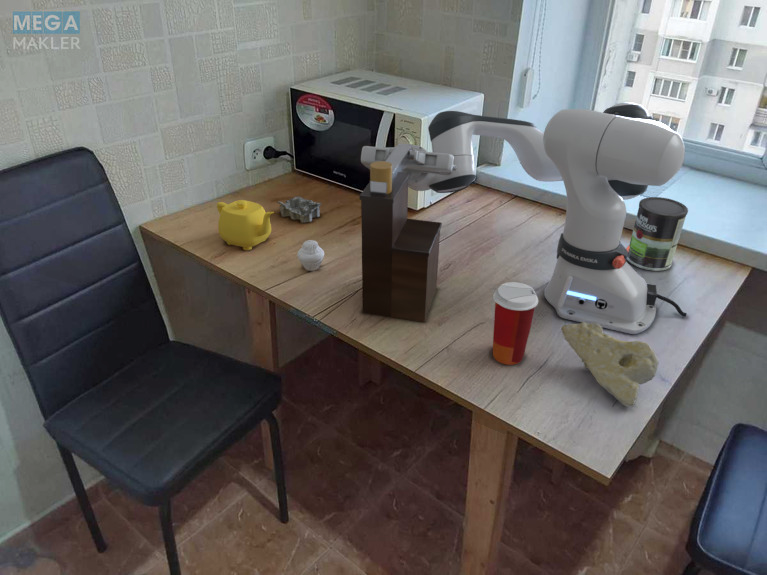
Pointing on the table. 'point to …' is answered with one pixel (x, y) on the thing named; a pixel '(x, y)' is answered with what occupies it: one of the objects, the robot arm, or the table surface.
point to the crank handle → (388, 170)
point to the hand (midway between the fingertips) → (401, 153)
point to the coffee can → (656, 233)
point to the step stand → (397, 255)
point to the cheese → (613, 360)
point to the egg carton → (300, 209)
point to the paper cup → (512, 321)
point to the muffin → (310, 255)
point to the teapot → (243, 223)
